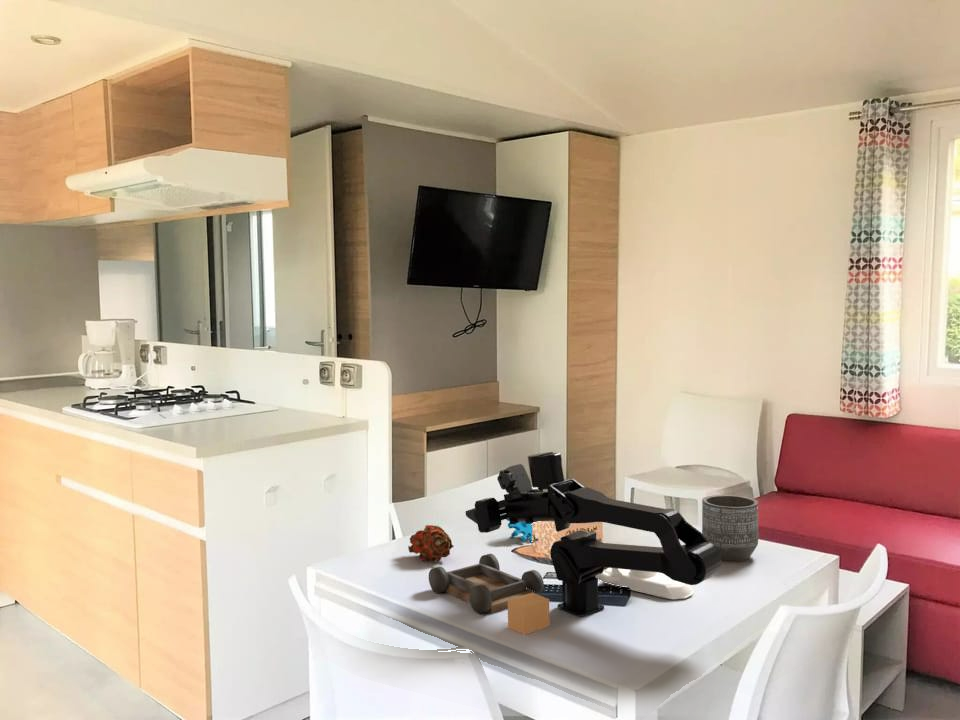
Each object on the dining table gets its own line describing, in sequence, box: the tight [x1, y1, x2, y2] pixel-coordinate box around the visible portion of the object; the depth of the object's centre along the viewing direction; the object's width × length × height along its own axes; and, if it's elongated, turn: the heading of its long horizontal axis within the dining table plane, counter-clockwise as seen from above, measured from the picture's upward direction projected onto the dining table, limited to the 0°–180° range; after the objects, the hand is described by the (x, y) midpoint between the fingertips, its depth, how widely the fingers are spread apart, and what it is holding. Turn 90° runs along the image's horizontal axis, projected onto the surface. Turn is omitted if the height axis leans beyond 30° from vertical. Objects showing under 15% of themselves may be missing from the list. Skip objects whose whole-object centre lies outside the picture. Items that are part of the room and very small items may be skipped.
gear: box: [505, 518, 533, 543], centre depth 201 cm, size 11×6×10 cm
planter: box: [701, 494, 759, 563], centre depth 183 cm, size 12×12×13 cm
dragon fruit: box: [407, 524, 455, 562], centre depth 185 cm, size 8×8×12 cm
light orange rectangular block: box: [507, 593, 551, 635], centre depth 145 cm, size 4×6×5 cm
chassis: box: [428, 553, 545, 614], centre depth 162 cm, size 19×15×5 cm
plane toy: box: [596, 567, 695, 600], centre depth 164 cm, size 10×20×6 cm, turn 52°
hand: (481, 509), depth 169 cm, fingers open, 9 cm apart
